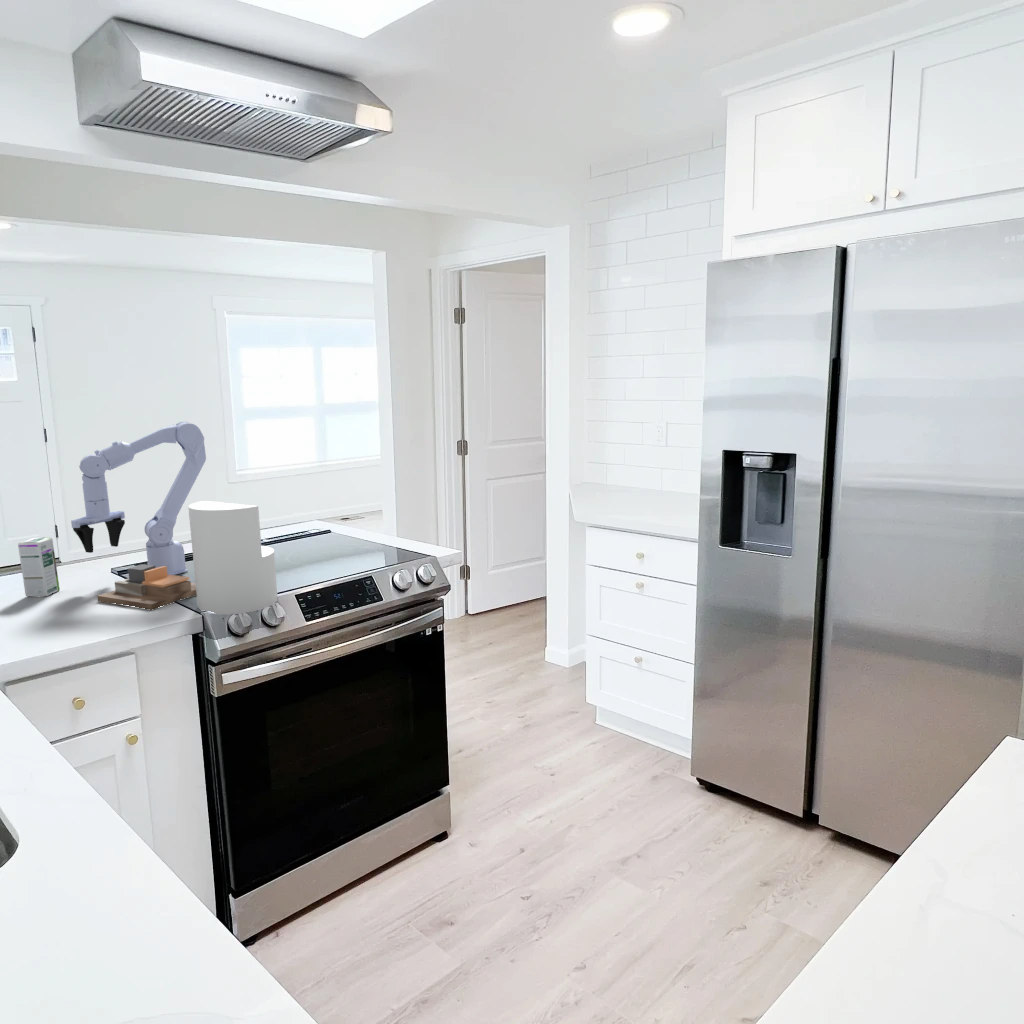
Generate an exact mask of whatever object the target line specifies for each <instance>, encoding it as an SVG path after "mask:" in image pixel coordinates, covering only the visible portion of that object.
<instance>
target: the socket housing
mask: <svg viewBox="0 0 1024 1024" xmlns="http://www.w3.org/2000/svg"><path fill="white" fill-rule="evenodd" d="M114 589H115V590H113V591H108V592H106V593H102V594H98V595H97V602H99V601H101V602H100V603H105V602H108V603H107V604H111V603H116V604H115V605H117V604H123V605H129V606H135V607H139V608H138V609H141V608H145V609H144V610H147V609H150V610H149V611H153V610H152V609H154V610H156V609H155V608H157V609H159V608H158V607H160V606H163V605H166V606H168V605H167V604H169V605H171V604H170V603H172V604H174V603H173V602H175V601H178V600H180V599H184V598H187V597H189V598H192V597H195V596H197V594H196V583H195V582H191V580H186V581H183V582H180V583H177V584H173V585H170V586H167V587H164V588H163V587H156V586H149V585H142V584H138V583H131V582H129V577H128V578H125V579H121V580H117V581H115V582H114ZM194 595H195V596H194ZM191 596H192V597H191ZM187 599H188V598H187ZM184 600H185V599H184ZM178 602H179V601H178ZM175 603H176V602H175ZM123 605H122V606H123ZM129 606H128V607H129ZM135 607H134V608H135ZM163 607H164V606H163ZM160 608H161V607H160Z"/></svg>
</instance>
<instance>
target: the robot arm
mask: <svg viewBox="0 0 1024 1024" xmlns="http://www.w3.org/2000/svg"><path fill="white" fill-rule="evenodd" d="M164 443H166V444H178V445H179V446H180V447H181V449H182V452H183V454H184V457H185V459H184V462H183V463H182V465H181V467H180V469H179V471H178V472H177V475H176V477H175V479H174V481H173V483H172V485H171V487H170V489H169V491H168V492H167V495H166V496H165V498H164V499H163V502H162V504H161V506H160V508H159V509H158V510H157V511H156V512H155V513H154V516H153V517H152V518H151V519H149V520H148V521H147V522H146V523H145V526H144V533H145V535H146V536H147V537H148V540H147V542H146V543H145V547H146V549H145V551H146V559H147V565H155V566H156V568H158V567H162V566H167V575H168V574H169V575H176V576H178V575H179V574H182V573H185V572H188V571H189V569H188V568H186V558H185V550H184V546H183V544H182V543H181V542H180V541H178V540H175V539H173V537H174V527H175V525H176V522H177V518H178V515H179V513H180V511H181V509H182V508H183V505H184V503H185V501H186V500H187V499H188V496H189V493H190V492H191V490H192V488H193V485H194V484H195V483H196V480H197V479H198V477H199V474H200V473H201V470H202V469H203V467H204V465H205V462H206V461H207V456H206V447H205V436H204V434H203V433H202V431H201V428H199V427H198V426H197V425H196V424H194V423H190V422H188V421H179V422H178V423H176V424H171V425H167V426H165V427H162V428H161V427H160V429H157V430H155V431H152V432H151V433H149V434H147V435H144V436H143V437H140V438H138V439H136V440H134V441H132V442H129V443H127V442H125V441H119V442H118V441H117V440H116V441H114V442H111V444H112V445H110V446H108V447H106V448H103V449H101V450H98V449H96V450H94V454H88V455H85V456H84V457H82V459H81V460H80V463H79V465H78V466H79V469H80V472H82V477H81V479H82V492H83V500H84V507H85V508H84V509H85V516H82V517H80V518H76V519H73V520H71V521H70V523H71V528H72V530H73V532H74V533H75V534H76V536H78V538H79V540H80V542H81V544H82V546H83V548H84V550H85V553H88V554H89V553H90V554H91V553H94V541H93V540H94V539H93V536H94V530H95V528H94V527H90V526H91V525H95V524H100V523H101V524H102V523H104V524H105V526H106V529H107V531H108V537H109V544H110V546H111V547H114V548H116V547H119V543H120V542H119V541H120V538H121V537H120V536H121V534H122V533H121V532H122V530H123V528H124V525H125V524H126V523H125V522H126V521H125V519H126V516H125V511H123V510H122V511H121V510H119V511H118V510H117V511H111V510H110V502H109V501H110V500H109V495H108V493H109V492H108V484H107V481H106V477H105V473H106V472H107V471H112V470H114V469H116V468H119V467H121V466H123V465H125V464H128V463H130V462H132V461H133V460H134V458H135V455H137V454H138V453H141V452H144V451H147V450H149V449H152V448H154V447H156V446H159V445H160V444H164Z"/></svg>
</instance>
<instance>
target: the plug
mask: <svg viewBox="0 0 1024 1024" xmlns="http://www.w3.org/2000/svg"><path fill="white" fill-rule="evenodd" d="M155 568H156V566H155V565H148V564H138V565H135V566H132V567H129V568H127V573H128V578H129V582H131V583H138V584H142V582H144V581H145V575H144V571H148V570H151V569H155Z"/></svg>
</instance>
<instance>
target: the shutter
mask: <svg viewBox="0 0 1024 1024" xmlns="http://www.w3.org/2000/svg"><path fill="white" fill-rule="evenodd" d="M144 575H145V581H144V582H142V585H149V586H156V587H163V588H164V587H167V586H170V585H173V584H177V583H180V582H183V581H190V577H188V576H182V575H169V574H168V575H167V566H162V567H158V568H155V569H151V570H148V571H144Z"/></svg>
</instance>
